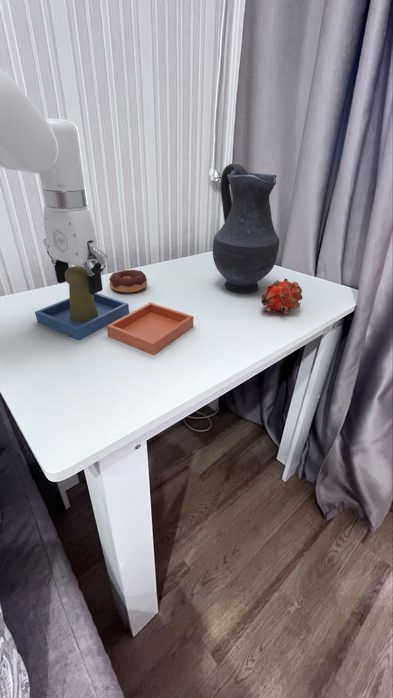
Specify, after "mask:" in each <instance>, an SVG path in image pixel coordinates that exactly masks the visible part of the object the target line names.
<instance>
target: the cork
mask: <svg viewBox="0 0 393 698" xmlns="http://www.w3.org/2000/svg"><path fill="white" fill-rule="evenodd" d="M87 275H89V274H88V272H87V270H86V269H85V267H84V266H83V265H81V266H77V265H74V266H70V267H69V268H68V269H67V270H66V272H65V279H66V282H65V283H67V284H68V290H69V291H68V293H69V294H68V295H69V298H70V318H71V319H72V320H73V321H77V322H87V321H90V320H92V319H94V318H96V317H98V312H97V308H96V305H95V301H94V298H93V294H90V293H89V289H88V282H87Z"/></svg>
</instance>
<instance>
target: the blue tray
mask: <svg viewBox="0 0 393 698" xmlns="http://www.w3.org/2000/svg"><path fill="white" fill-rule="evenodd" d="M93 298H94V301H95V305H96V308H97V312H98V317H96V318H94V319H92V320H90V321H87V322H77V321H73V320H72V319H71V318H70V297H68V298H66V299H63V300H61V301H58V302H55V303H54V304H51V305H48V306H46V307H43V308H41V309H39V310H36V311H34V314H35V319H36V322H37V323H38V324H41V325H43V326H45V327H47V328H50V329H52V330H54V331H56V332H59V333H62V334H64V335H66V336H68V337H70V338H73V339H75V340H77V341H81V340H82V339H84V338H86V337H87V336H90V335H92V334H94V333H95V332H97V331H99V330H100V329H102V328H104V327H107V325H109V324H111V323H113V322H115V321H116V320H118V319H120V318H122V317H124V316H126V315H128V314H130V306H129V303H128V302H125V301H122V300H119V299H116V298H113V297H110V296H107V295H105V294H101V293H100V292H97V293H95V294H93Z"/></svg>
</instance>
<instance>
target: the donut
mask: <svg viewBox="0 0 393 698" xmlns="http://www.w3.org/2000/svg"><path fill="white" fill-rule="evenodd" d="M108 284H109V287H110V288H111V289H112V290H113V291H115V292H120V293H136V292H139V291H142V290H144V289H145V288H146V287H147V286H148V279H147V276H146V274H145V273H144V271H141V270H136V269H122V270H121V271H120V270H119V271H116V272H112V274H111V275H110V276H109V283H108Z"/></svg>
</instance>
